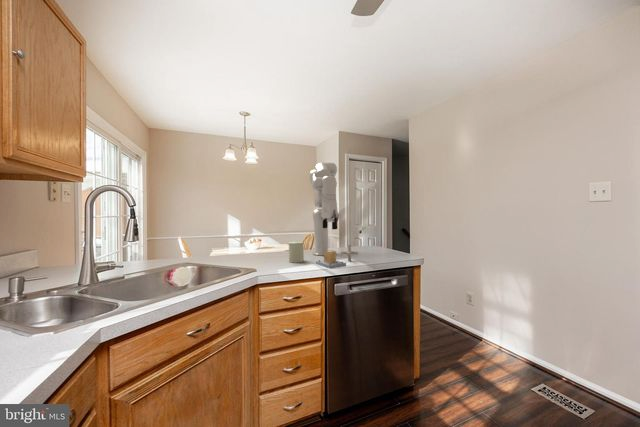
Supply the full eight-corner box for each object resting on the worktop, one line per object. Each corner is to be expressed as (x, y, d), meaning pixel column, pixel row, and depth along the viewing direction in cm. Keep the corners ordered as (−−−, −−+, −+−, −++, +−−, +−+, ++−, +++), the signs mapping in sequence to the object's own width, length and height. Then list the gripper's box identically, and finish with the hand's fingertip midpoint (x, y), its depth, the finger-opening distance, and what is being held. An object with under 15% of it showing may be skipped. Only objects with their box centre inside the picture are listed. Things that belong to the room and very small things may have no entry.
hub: (322, 261, 155) (322, 251, 155) (331, 260, 158) (331, 250, 158) (328, 263, 149) (328, 252, 149) (338, 262, 153) (338, 251, 152)
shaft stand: (315, 263, 157) (315, 250, 157) (331, 261, 162) (331, 249, 162) (329, 268, 145) (328, 254, 145) (345, 265, 150) (345, 252, 150)
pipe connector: (357, 263, 157) (357, 245, 157) (340, 262, 159) (339, 245, 159) (358, 259, 167) (358, 243, 167) (342, 259, 169) (342, 243, 169)
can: (292, 263, 160) (291, 242, 159) (286, 260, 168) (286, 241, 167) (306, 261, 164) (306, 241, 164) (300, 259, 172) (300, 240, 172)
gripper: (315, 198, 159) (316, 228, 159) (332, 197, 144) (332, 230, 145) (326, 198, 163) (327, 227, 163) (343, 197, 148) (344, 229, 148)
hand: (329, 228), depth 154 cm, fingers open, 9 cm apart
